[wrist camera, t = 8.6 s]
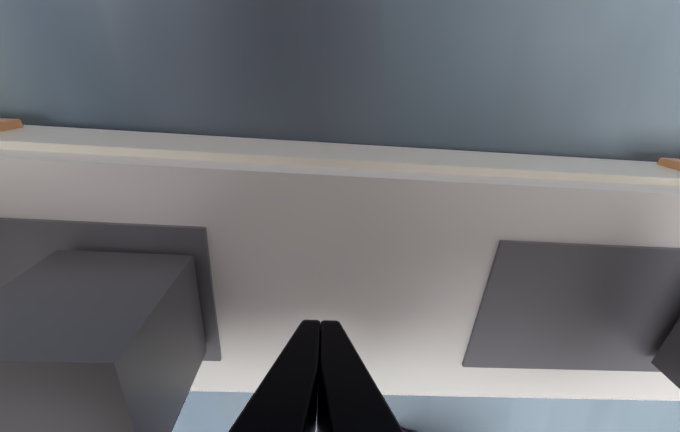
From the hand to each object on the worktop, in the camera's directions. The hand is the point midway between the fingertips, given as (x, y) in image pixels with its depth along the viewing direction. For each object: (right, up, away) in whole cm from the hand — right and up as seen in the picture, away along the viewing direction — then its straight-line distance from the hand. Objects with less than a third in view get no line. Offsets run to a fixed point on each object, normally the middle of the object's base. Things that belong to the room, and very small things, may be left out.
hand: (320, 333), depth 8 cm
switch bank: (+1, +2, +4) cm, 4 cm away
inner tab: (-5, +1, 0) cm, 5 cm away
